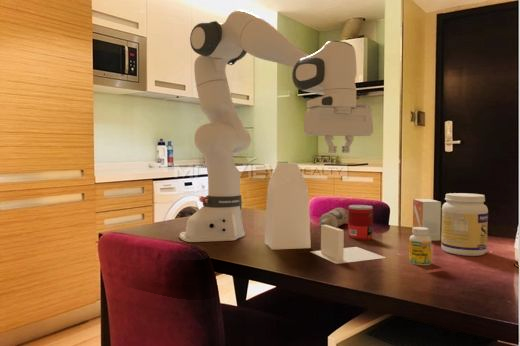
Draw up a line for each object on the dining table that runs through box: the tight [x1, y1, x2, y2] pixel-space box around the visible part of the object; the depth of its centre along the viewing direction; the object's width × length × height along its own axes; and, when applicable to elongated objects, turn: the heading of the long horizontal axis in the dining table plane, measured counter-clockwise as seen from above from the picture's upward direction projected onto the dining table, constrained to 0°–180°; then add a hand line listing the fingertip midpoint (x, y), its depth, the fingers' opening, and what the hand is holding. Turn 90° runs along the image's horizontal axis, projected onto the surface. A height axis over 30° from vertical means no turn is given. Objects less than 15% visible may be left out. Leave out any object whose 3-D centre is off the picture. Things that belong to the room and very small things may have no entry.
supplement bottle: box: [408, 226, 432, 266], centre depth 110 cm, size 5×5×10 cm
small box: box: [412, 198, 442, 242], centre depth 143 cm, size 8×6×13 cm
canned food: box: [347, 204, 374, 242], centre depth 142 cm, size 8×8×11 cm
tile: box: [320, 225, 345, 260], centre depth 116 cm, size 2×9×8 cm, turn 22°
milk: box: [264, 162, 312, 250], centre depth 130 cm, size 12×12×26 cm
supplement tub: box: [440, 192, 489, 257], centre depth 123 cm, size 12×12×17 cm
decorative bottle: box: [318, 207, 348, 229], centre depth 161 cm, size 26×8×7 cm, turn 153°
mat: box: [310, 246, 387, 265], centre depth 118 cm, size 16×14×1 cm
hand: (339, 152), depth 115 cm, fingers open, 3 cm apart
